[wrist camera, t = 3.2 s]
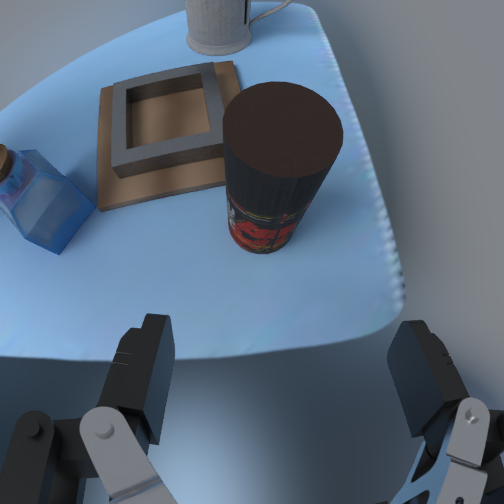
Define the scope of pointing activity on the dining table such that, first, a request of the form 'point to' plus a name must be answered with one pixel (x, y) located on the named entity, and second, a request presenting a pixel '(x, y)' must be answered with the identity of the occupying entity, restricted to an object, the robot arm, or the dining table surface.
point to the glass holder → (221, 25)
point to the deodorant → (275, 160)
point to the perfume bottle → (40, 199)
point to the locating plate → (163, 134)
